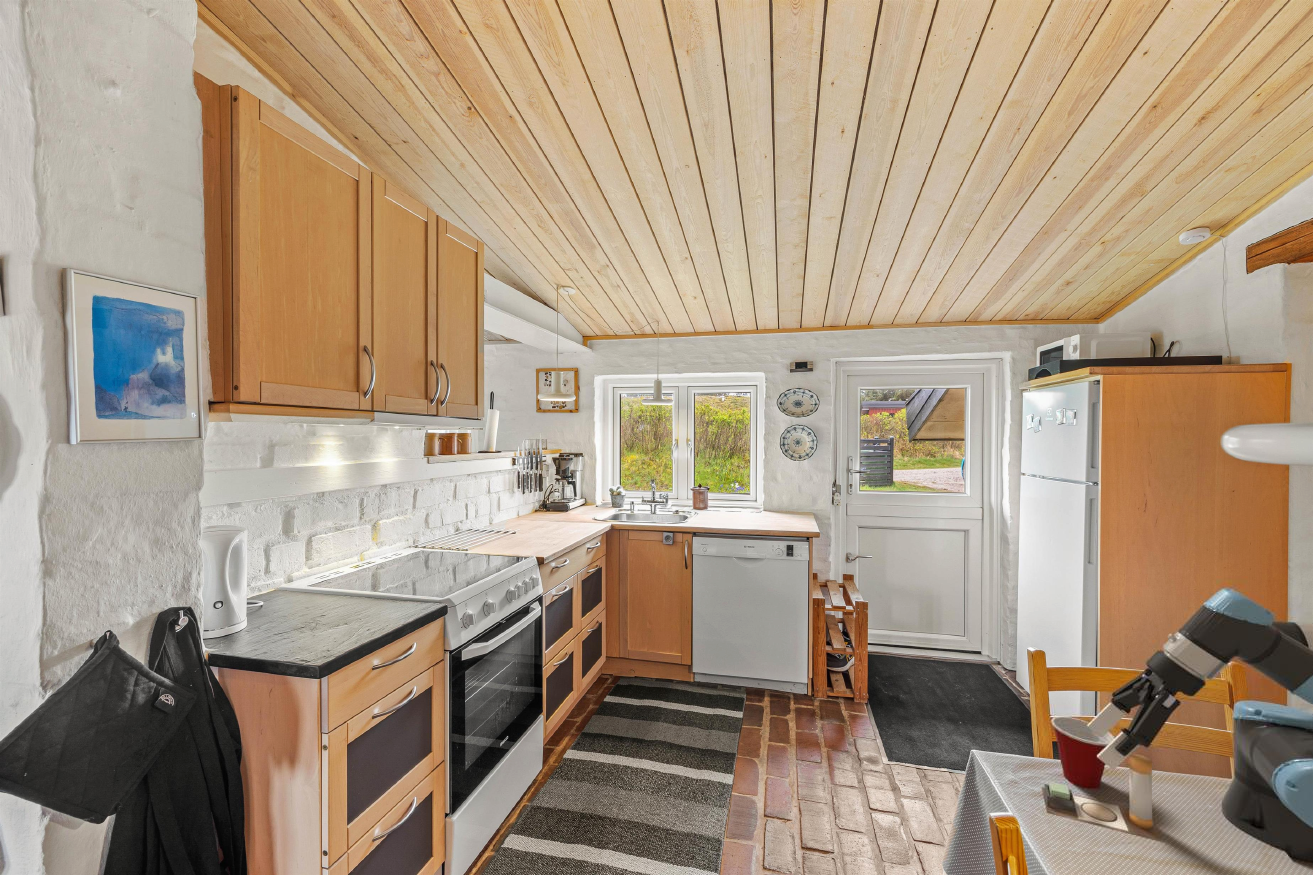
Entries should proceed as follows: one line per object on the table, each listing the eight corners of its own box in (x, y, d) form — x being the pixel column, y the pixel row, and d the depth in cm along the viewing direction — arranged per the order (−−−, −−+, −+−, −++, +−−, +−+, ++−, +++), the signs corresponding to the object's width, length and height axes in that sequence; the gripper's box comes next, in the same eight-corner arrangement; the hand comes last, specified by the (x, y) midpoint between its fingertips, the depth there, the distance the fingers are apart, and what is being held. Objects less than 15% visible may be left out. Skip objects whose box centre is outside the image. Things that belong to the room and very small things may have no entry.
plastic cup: (1128, 803, 113) (1127, 743, 113) (1067, 797, 115) (1066, 738, 115) (1097, 772, 124) (1097, 717, 124) (1042, 766, 126) (1041, 712, 126)
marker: (1149, 820, 107) (1149, 756, 107) (1154, 831, 104) (1154, 765, 104) (1127, 814, 108) (1126, 751, 108) (1131, 825, 105) (1131, 760, 105)
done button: (1067, 795, 112) (1067, 785, 112) (1069, 804, 110) (1069, 794, 110) (1049, 791, 114) (1049, 781, 114) (1051, 799, 111) (1051, 789, 111)
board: (1147, 817, 109) (1147, 801, 109) (1162, 847, 101) (1162, 830, 101) (1041, 791, 117) (1041, 777, 117) (1047, 817, 109) (1047, 801, 109)
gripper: (1145, 631, 113) (1072, 705, 119) (1178, 671, 92) (1087, 759, 97) (1187, 658, 109) (1109, 734, 115) (1232, 707, 88) (1134, 796, 94)
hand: (1099, 746), depth 106 cm, fingers open, 13 cm apart
